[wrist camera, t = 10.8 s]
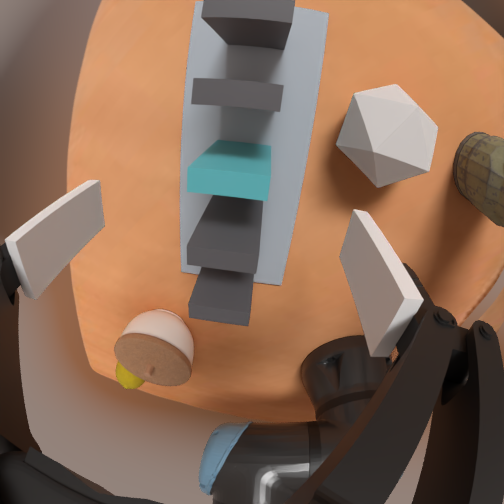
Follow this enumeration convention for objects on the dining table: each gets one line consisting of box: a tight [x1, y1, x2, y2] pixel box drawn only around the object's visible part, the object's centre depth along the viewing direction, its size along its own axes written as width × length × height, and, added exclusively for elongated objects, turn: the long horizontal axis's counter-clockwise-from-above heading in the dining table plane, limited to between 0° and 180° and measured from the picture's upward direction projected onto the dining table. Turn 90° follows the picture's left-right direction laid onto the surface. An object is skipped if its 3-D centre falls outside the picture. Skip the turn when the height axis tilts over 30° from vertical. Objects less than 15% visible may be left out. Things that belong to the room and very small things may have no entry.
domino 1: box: [201, 0, 295, 50], centre depth 15 cm, size 2×5×10 cm, turn 84°
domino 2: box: [191, 78, 284, 112], centre depth 18 cm, size 2×5×10 cm, turn 84°
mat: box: [180, 1, 329, 285], centre depth 25 cm, size 30×12×1 cm, turn 174°
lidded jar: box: [114, 309, 194, 386], centre depth 35 cm, size 11×11×9 cm
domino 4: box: [188, 267, 254, 326], centre depth 26 cm, size 2×5×10 cm, turn 84°
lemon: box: [116, 361, 145, 389], centre depth 40 cm, size 6×6×8 cm
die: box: [336, 84, 438, 188], centre depth 20 cm, size 8×9×10 cm
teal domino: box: [187, 140, 271, 201], centre depth 21 cm, size 2×5×10 cm, turn 84°
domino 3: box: [187, 195, 263, 274], centre depth 24 cm, size 2×5×10 cm, turn 84°
